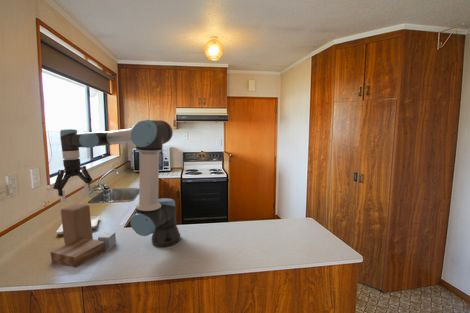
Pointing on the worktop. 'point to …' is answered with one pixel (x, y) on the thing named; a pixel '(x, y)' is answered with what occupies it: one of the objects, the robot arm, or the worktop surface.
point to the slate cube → (108, 239)
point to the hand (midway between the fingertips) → (75, 198)
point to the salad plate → (93, 224)
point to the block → (76, 223)
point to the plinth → (78, 252)
